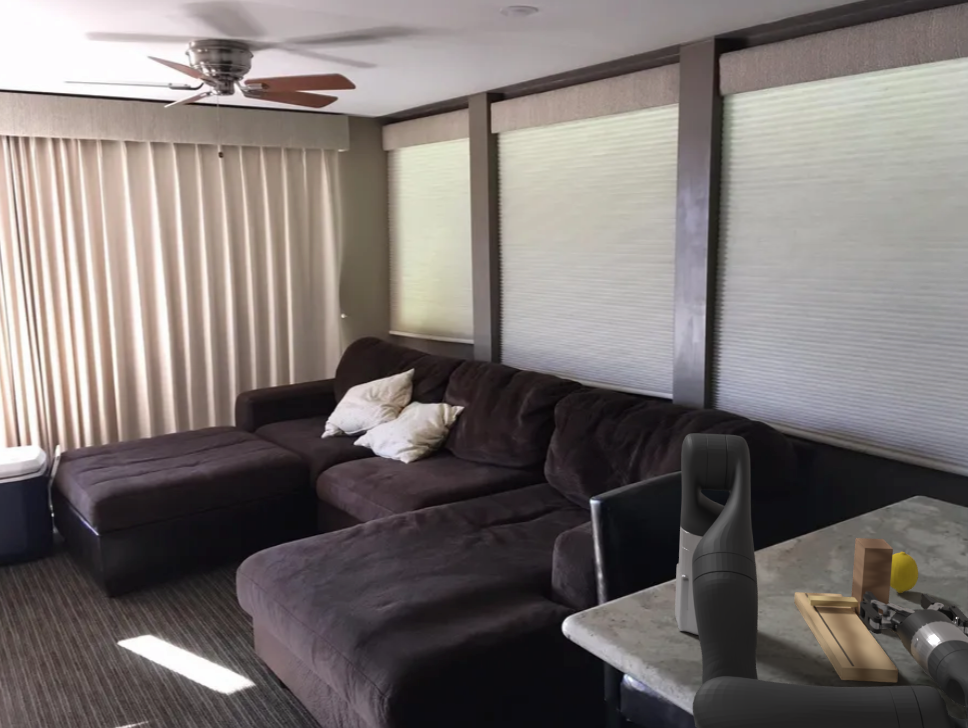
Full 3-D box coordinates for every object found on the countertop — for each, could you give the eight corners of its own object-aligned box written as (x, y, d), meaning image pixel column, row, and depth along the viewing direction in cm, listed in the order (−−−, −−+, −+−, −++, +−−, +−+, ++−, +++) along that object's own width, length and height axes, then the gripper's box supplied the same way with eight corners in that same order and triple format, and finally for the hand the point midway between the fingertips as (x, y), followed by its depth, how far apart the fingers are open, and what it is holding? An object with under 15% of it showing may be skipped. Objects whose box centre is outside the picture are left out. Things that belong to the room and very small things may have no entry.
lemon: (898, 601, 150) (901, 559, 149) (876, 588, 155) (879, 547, 154) (923, 597, 151) (927, 556, 150) (901, 585, 157) (904, 544, 155)
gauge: (811, 624, 141) (816, 546, 139) (804, 612, 146) (809, 536, 144) (886, 627, 140) (893, 548, 138) (876, 615, 145) (882, 538, 142)
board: (841, 679, 124) (842, 666, 124) (794, 602, 149) (795, 591, 149) (897, 682, 123) (898, 669, 123) (840, 604, 149) (841, 593, 148)
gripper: (884, 669, 118) (847, 617, 133) (990, 675, 116) (940, 622, 132) (888, 620, 116) (850, 573, 132) (996, 625, 115) (944, 577, 131)
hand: (895, 597), depth 132 cm, fingers open, 8 cm apart
